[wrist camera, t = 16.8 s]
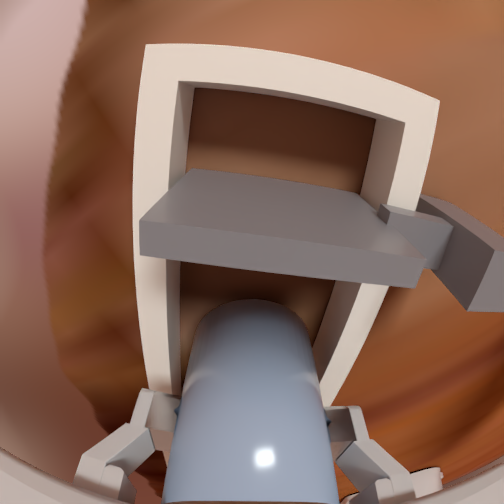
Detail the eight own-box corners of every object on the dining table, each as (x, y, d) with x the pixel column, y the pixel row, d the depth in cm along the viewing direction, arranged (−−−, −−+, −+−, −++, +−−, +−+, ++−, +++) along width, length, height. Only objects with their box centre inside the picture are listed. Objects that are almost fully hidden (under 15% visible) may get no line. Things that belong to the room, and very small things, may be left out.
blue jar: (322, 305, 12) (377, 524, 4) (294, 383, 14) (310, 548, 6) (196, 291, 12) (141, 523, 4) (193, 374, 14) (166, 543, 6)
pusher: (436, 242, 12) (507, 311, 7) (189, 203, 11) (140, 278, 6) (449, 202, 11) (532, 259, 6) (193, 152, 10) (139, 191, 5)
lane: (275, 462, 22) (277, 499, 19) (173, 453, 22) (167, 489, 18) (406, 100, 10) (466, 102, 6) (168, 57, 9) (127, 34, 5)
